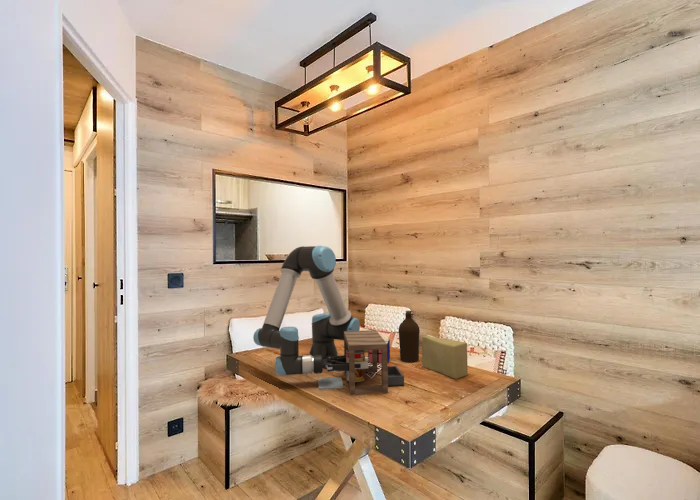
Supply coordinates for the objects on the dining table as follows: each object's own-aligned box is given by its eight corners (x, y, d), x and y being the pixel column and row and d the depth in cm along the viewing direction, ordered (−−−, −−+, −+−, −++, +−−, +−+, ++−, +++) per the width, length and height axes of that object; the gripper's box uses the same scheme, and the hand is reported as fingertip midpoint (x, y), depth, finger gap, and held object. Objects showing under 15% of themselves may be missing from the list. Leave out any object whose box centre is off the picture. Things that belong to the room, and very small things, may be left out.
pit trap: (381, 375, 166) (381, 366, 166) (396, 374, 167) (396, 365, 167) (387, 386, 152) (387, 376, 152) (404, 385, 153) (404, 376, 153)
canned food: (367, 381, 155) (366, 352, 155) (349, 383, 153) (348, 353, 153) (362, 375, 163) (361, 347, 163) (344, 376, 161) (344, 349, 161)
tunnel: (344, 372, 171) (343, 331, 171) (376, 371, 173) (376, 330, 173) (350, 394, 144) (349, 345, 144) (388, 392, 146) (387, 344, 146)
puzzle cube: (388, 364, 184) (387, 343, 184) (368, 363, 186) (367, 343, 186) (390, 358, 194) (389, 339, 194) (371, 357, 196) (370, 338, 196)
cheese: (416, 368, 176) (415, 336, 177) (429, 364, 183) (428, 333, 183) (455, 380, 159) (454, 345, 159) (468, 375, 165) (468, 341, 165)
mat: (318, 379, 163) (318, 378, 163) (341, 378, 163) (341, 377, 163) (318, 389, 151) (318, 388, 151) (343, 388, 152) (343, 387, 152)
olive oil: (404, 363, 183) (403, 313, 183) (395, 358, 193) (394, 310, 194) (423, 361, 186) (423, 311, 187) (414, 356, 196) (413, 308, 197)
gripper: (313, 365, 166) (363, 363, 169) (313, 381, 146) (370, 378, 148) (312, 349, 166) (363, 347, 169) (312, 362, 146) (370, 359, 148)
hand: (366, 361), depth 158 cm, fingers closed on canned food, 8 cm apart
